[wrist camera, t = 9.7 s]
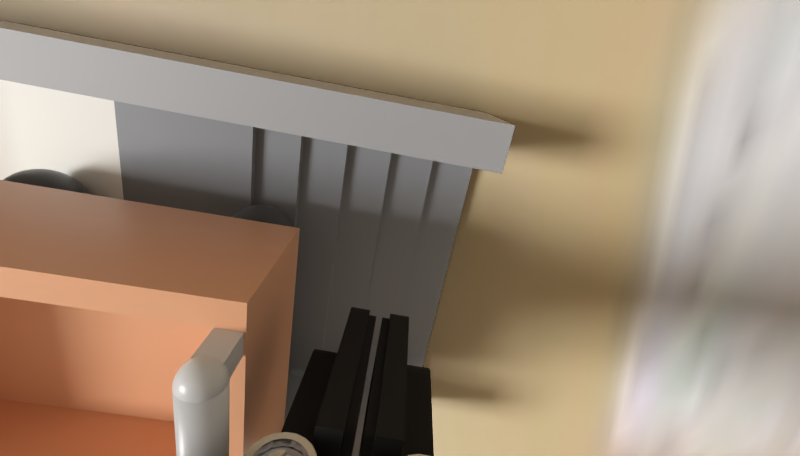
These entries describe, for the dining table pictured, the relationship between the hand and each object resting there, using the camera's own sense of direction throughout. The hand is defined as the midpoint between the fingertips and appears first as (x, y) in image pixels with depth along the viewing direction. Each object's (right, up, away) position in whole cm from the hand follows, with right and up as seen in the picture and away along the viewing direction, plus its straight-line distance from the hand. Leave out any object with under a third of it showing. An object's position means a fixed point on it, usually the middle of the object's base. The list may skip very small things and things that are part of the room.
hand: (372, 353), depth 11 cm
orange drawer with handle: (-8, +2, +4) cm, 9 cm away
